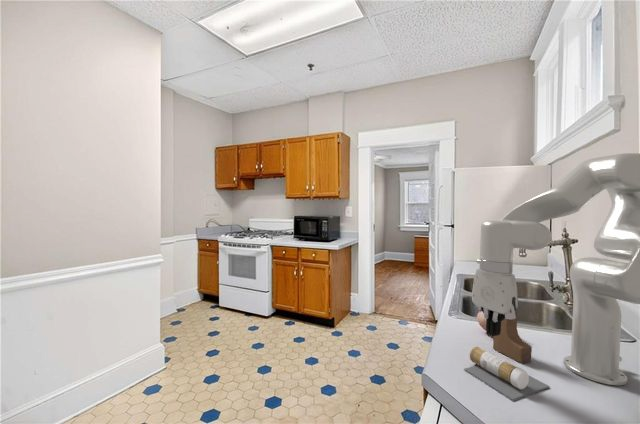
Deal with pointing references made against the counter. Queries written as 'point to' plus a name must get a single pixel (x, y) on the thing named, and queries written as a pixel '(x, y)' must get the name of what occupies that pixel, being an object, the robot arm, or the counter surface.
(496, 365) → the sprinkles bottle
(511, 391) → the mat
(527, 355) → the wooden block
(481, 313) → the decorative fruit
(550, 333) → the counter surface
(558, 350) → the counter surface
